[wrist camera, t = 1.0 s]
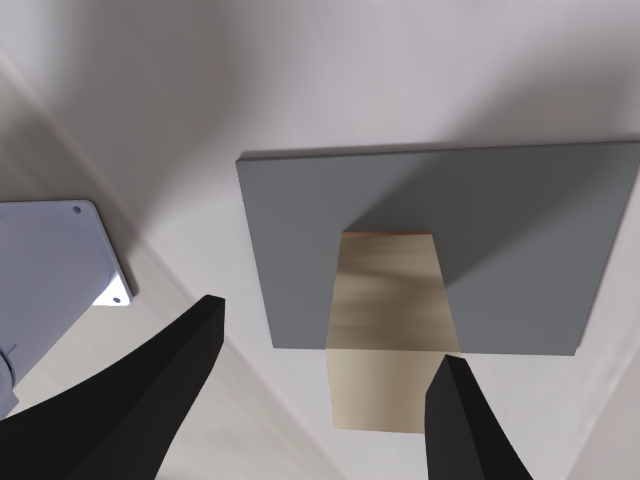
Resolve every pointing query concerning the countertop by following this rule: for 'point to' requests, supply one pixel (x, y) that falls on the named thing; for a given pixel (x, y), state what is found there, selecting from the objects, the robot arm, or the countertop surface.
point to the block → (386, 330)
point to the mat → (446, 234)
